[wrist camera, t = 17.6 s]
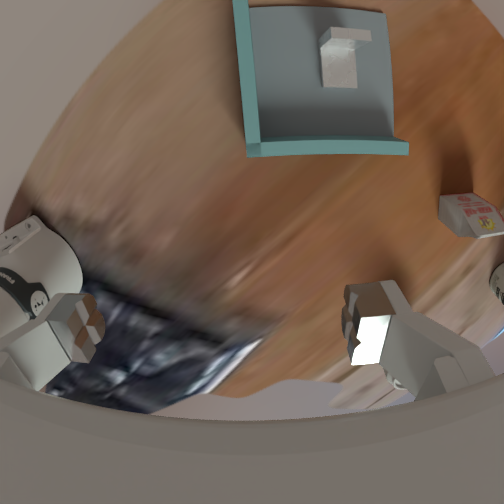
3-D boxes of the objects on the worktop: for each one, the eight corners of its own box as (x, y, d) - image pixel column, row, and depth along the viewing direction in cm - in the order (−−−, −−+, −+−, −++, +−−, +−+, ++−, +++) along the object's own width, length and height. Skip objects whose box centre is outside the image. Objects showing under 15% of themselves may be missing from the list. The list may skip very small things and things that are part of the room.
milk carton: (471, 214, 37) (508, 244, 28) (438, 218, 38) (474, 251, 29) (473, 192, 35) (513, 218, 26) (439, 195, 36) (479, 223, 27)
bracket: (317, 40, 27) (330, 26, 21) (350, 42, 27) (370, 30, 21) (321, 87, 30) (335, 84, 24) (354, 88, 30) (375, 86, 24)
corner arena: (249, 150, 35) (247, 157, 30) (236, 10, 26) (232, -3, 22) (391, 147, 33) (408, 155, 29) (383, 15, 25) (399, 5, 20)
